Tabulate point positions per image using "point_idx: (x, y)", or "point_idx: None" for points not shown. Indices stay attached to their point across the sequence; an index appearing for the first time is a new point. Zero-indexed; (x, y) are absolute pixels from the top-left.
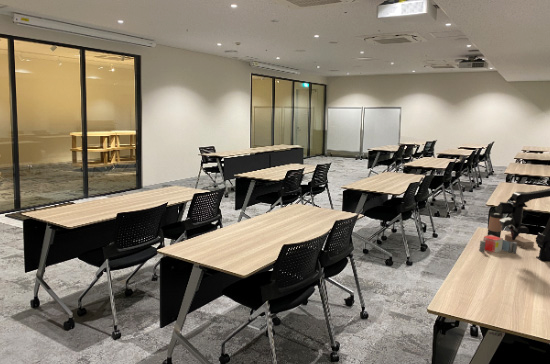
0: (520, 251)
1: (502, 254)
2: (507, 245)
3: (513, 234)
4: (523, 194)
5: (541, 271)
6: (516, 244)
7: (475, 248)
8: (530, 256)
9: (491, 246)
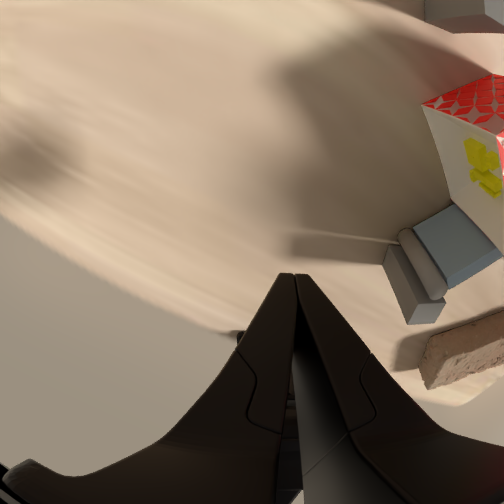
0: None
1: (376, 146)
2: (445, 249)
3: (224, 367)
4: None
5: (71, 245)
6: (407, 311)
7: None
8: None
9: (471, 102)
